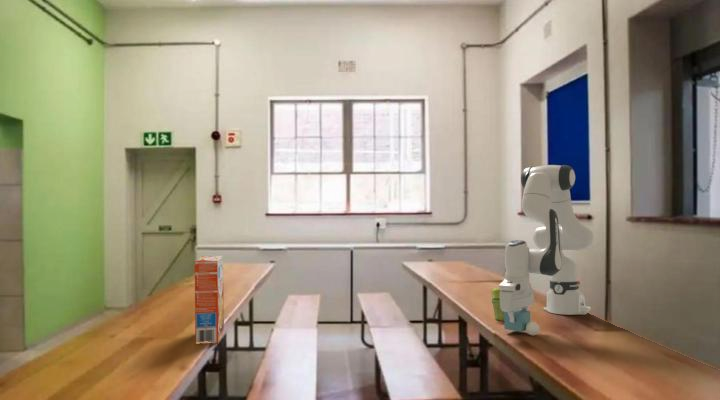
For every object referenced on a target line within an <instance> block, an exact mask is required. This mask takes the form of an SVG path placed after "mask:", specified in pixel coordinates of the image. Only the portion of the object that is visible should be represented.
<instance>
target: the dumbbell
mask: <svg viewBox="0 0 720 400" xmlns="http://www.w3.org/2000/svg"><path fill="white" fill-rule="evenodd" d="M501 291H502V290H499V287H498V288H496V287H495V288H492V289H491V293H490V295H491V298H496V297H500V292H501Z"/></svg>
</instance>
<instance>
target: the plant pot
mask: <svg viewBox="0 0 720 400" xmlns="http://www.w3.org/2000/svg"><path fill="white" fill-rule="evenodd" d="M490 301H491V302H492V307H493V314H494V319H495V320H498V321H500V322H504V311H502V310H501V308H500V297H496V298H492V297H491V298H490Z"/></svg>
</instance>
